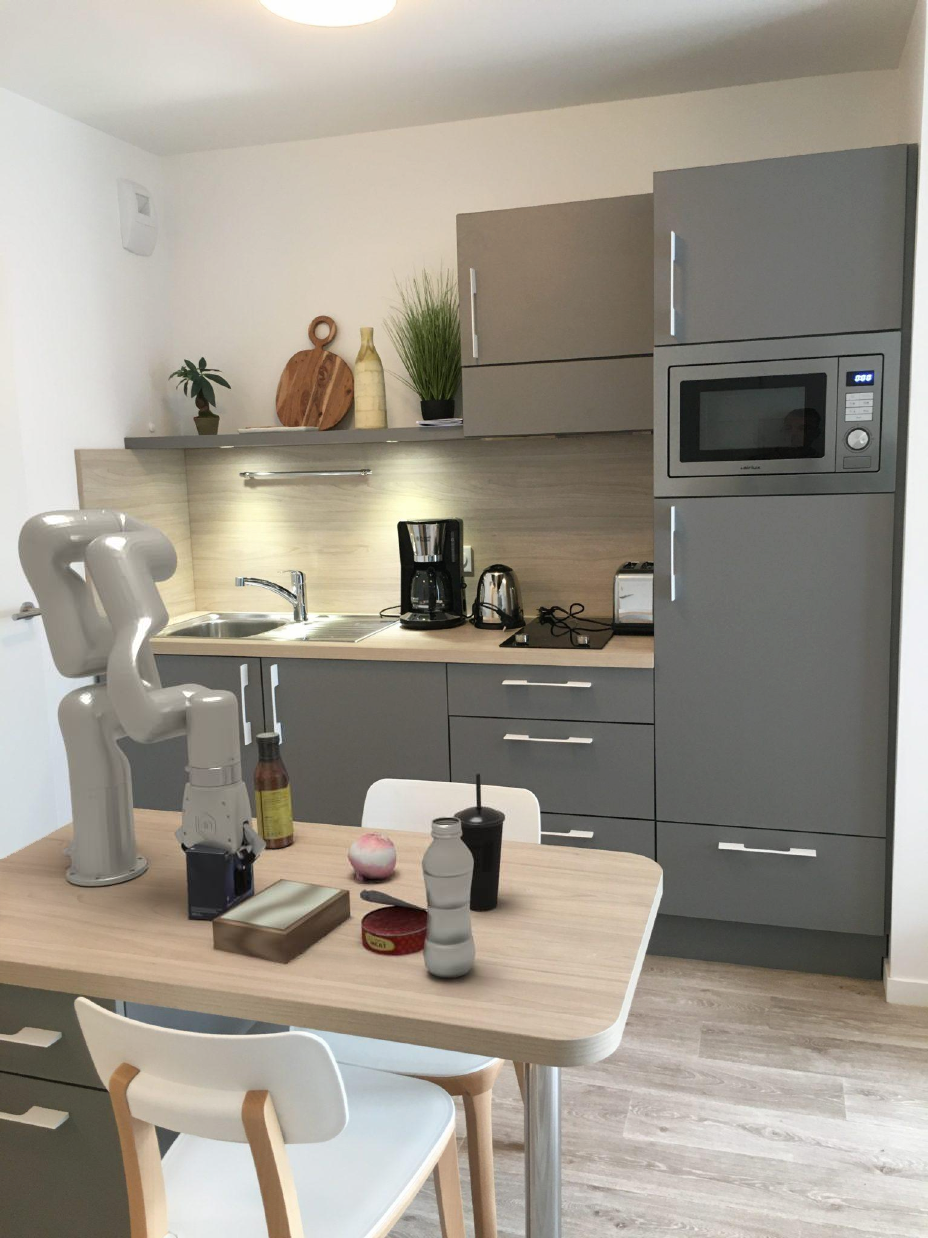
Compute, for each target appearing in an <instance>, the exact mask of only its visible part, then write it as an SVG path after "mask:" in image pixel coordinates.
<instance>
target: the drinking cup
mask: <svg viewBox="0 0 928 1238" xmlns="http://www.w3.org/2000/svg"><path fill="white" fill-rule="evenodd" d="M481 780H482V779H481V773H475V792H476V793H475V796H476V800H475V801H476V805H475V806H471V807H467V808H464V809H463V810H460V811H458V812H456V813H454V814H453V816H452V817H455V818H458V819H460V820H461V830H462V836H461V837H460V839H461V840H462V841H463V842H464V844H465V845H466V846H467V847H468V849H469V850H470V852H471V853H472V857H473V860H474V864H473V874H472V881H471V889H470V902H469V903H470V911H475V912H486V911H490V910H491V911H492V910H493V909H495V908H496V907H497V906H498V901H499V900H498V899H499V885H500V870H501V869H500V868H501V856H502V846H503V845H502V840H503V831H504V830H503V829H504V823H505V820H506V815H505V813H504V812H502V811H500V810H498V809H495V808H492V807H489V806H482V783H481Z"/></svg>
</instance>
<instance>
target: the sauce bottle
mask: <svg viewBox="0 0 928 1238" xmlns="http://www.w3.org/2000/svg"><path fill="white" fill-rule="evenodd" d="M255 737H256V738H255V739H256V744H257V749H258V763H257V766H256V767H255V770H254V772H253V782H254V783H253V785H254V789H253V790H254V801H255V814H256V826H257V834H258V835H259V836H260V837H261V838H262V839H263V840H264V841H265V842H266V847H265V848H266V849H280V848H284V847H286V846H289V845H291V844H293V841H294V832H295V830H294V821H293V804H292V795H291V783H290V782H291V781H290V776H289V773H288V771H287V769H286V766H285V764H284V761H283V759H282V757H281V749H280V741H281V738H280V734H279V733H278V732H274V731H273V732H272V731H271V732H263V733H262V732H261V733H258V734H257V735H256V736H255ZM265 848H264V849H265Z"/></svg>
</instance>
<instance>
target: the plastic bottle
mask: <svg viewBox="0 0 928 1238" xmlns="http://www.w3.org/2000/svg"><path fill="white" fill-rule="evenodd" d="M430 823H431V831H430V836H431V837H432V838H433V839H432V841H431V842H430V844H429V845H428V847H427V848H426V850H425V852H424V854H423V856H422V860H421V869H422V876H423V881H424V886H425V887H424V888H425V894H426V895H425V897H426V909H427V910H426V911H427V912H428V914H427V929H426V937H425V942H424V949H423V951H422V955H423V961H424V965H425V967H426V968H427V970H428V971H429V973H430V974H432V975H433V976H436V977H440V978H457V977H461V976H464V975H466V974H467V973H469V972H470V971H471V969H472V967H473V966H474V965H475V959H476V945H475V944H476V943H475V939H474V935H473V932H472V931H473V930H472V921H471V920H472V919H471V912H470V911H471V910H470V903H469V902H470V889H471V881H472V874H473V864H474V860H473V857H472V853H471V852H470V850H469V849H468V847H467V846H466V845H465V844H464V842H463V841H462V840H461V839H460V837H461V836H462V830H461V820H460V819H458V818H455V817H453V816H440V817H436V818H434V819H432V820H431V822H430Z"/></svg>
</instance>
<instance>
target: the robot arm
mask: <svg viewBox="0 0 928 1238" xmlns="http://www.w3.org/2000/svg"><path fill="white" fill-rule="evenodd" d="M173 544H174V543H172V541H171V540H170V539H169V538H168V536H166V535H165V533H164V532H162V531H160V530H159V529H157V528H156V527H154V526H152V525H150V524H148V523H146V522H144V521H143V520H141V519H138V518H136V517H135V516H132V515H131V514H129V513H126V512H124V511H121V510H118V509H107V508H105V509H103V508H101V509H100V508H99V509H98V508H97V509H61V510H60V509H59V510H50V511H45V512H40V513H38V514H36V515H33V516H31V517H30V518H29V519H27V521H25V522H24V524H23V525H22V527H21V528H20V533H19V537H18V543H17V548H18V549H17V551H18V552H17V553H18V558H19V562H20V566H21V568H22V572H23V573H24V576H25V578H26V580H27V582H28V584H29V586H30V588H31V590H32V592H33V594H34V596H35V599H36V602H37V603H38V604H37V605H38V608H39V611H40V615H41V616H40V618H41V619H42V623H43V628H44V633H45V636H46V640H47V642H48V643H47V644H48V646H49V650H50V654H51V657H52V661H53V664H54V666H55V668H56V670H57V672H58V673H59V674H60V676H62V677H65V678H67V679H73V680H74V679H75V680H76V679H84V678H85V679H86V678H90V677H91V678H92V677H96V676H101V675H106V681H104V682H98V683H93V684H87V685H84V686H80V687H78V688H75V689H73V690H72V691H69V692H68V693H67V694H66V695H65V696H64V697H63V698H62V699H61V701H60V702H59V703H58V708H57V721H58V726H59V729H60V730H59V731H60V732H61V736H62V740H63V744H64V747H65V753H66V759H67V768H68V779H69V782H68V783H69V786H70V787H69V789H70V791H69V792H70V802H71V815H72V828H73V840H70V841H69V842H67V844H66V847H65V848H63V849H62V850H61V856H62V857H64V858H71V861H70V862H71V865H70V866H69V867H68V868H67V869H66V872H65V874H66V880H67V881H68V882H69V883H71V884H73V885H76V886H83V887H101V886H109V885H115V884H118V883H119V884H121V883H123V882H126V881H129V880H132V879H135V878H137V877H139V876H140V875H142V874H143V873H144V872H145V871H146V869H147V868H148V861H147V859H146V857H144V855H143V856H142V855H141V854H137V845H136V844H137V843H136V830H135V829H136V827H135V813H134V800H133V783H132V782H133V781H132V770H131V764H130V762H129V759H128V757H127V755H125V752H124V751H123V750H122V749H121V748H120V746H119V745H118V743H117V740H120V739H122V738H125V737H129V738H130V739H132V740H133V741H135V742H136V743H138V744H145V745H148V744H154V743H158V742H161V741H165V740H169V739H173V738H177V737H181V736H185V735H186V739H187V757H188V763H187V764H186V765H185V766H184V770H185V772H186V773H188V775H189V776H188V777H189V781H188V782H186V783H185V787H184V792H183V797H182V806H181V807H182V808H181V809H182V810H181V811H182V813H181V825H180V826H179V828H177V829H176V830H175V831H174V832H173V835H174V837H175V839H176V840H177V841H178V843H179V844H180V847H181V850H182V851H183V852H184V853H185V854H186V850H187V849H189V848H190V847H191V846H193V845H194V844H199V845H205V846H211V847H216V848H221V849H225V850H228V854H229V855H232V854H233V858H234V863H235V865H236V867H237V869H236V870H234V881H235V894H236V896H241V895H243V894H244V893H246V892H248V891H249V890H251V887H252V886H251V885H252V878H251V865H252V864H253V865H254V864H255V861H257V860H258V858H259V857H260V856H261V854H262V853H263V851H264V850H265V847H266V842H265V841H264V840H263V839H262V838H261V837H260V836H259V835H258V832H256V831H255V829H254V828H253V818H252V810H251V805H250V798H249V794H248V790H247V787H246V782H245V781H243V780H242V779H243V778H242V761H241V759H242V757H241V738H240V722H239V720H240V719H239V704H238V698H237V696H236V695H235V694H234V693H233V692H232V691H229V690H224V689H212V688H208V687H206V686H204V685H201V684H197V683H184V684H181V685H180V684H179V685H175V686H169V687H164V688H163V686H162V682H161V678H160V674H159V671H158V668H157V664H156V659H155V655H154V652H153V648H152V644H151V642H150V640H151V639H152V638H153V637H155V636H157V635H158V634H160V633H161V632H162V631H163V630H164V629H165V628H166V626H167V625H168V624H169V621H170V615H169V612H168V610H167V608H166V606H165V603H164V601H163V599H162V596H161V594H160V592H159V589H158V587H157V584H156V583H160V582H161V583H163V582H165V581H168V580H169V579H171V578H172V577H173V576H174V575H175V573H176V570H177V567H178V555H177V551H176V549H175V546H174V545H173ZM84 562H85V565H86V568H87V571H88V573H89V576H90V578H91V580H92V582H93V585H94V588H95V590H96V593H97V595H98V597H99V599H100V602H101V605H102V607H103V610H104V612H105V614H106V616H102V615H100V613H99V611H98V608H97V606H96V601H95V597H94V593H93V590H92V589H91V587H90V586H89V584H88V583H87V582H86V581H85V579H84V578H83V576H81V575H80V573H78V572H77V571H76V570H75V569H73V568H72V567H71V564H72V563H73V564H74V563H84ZM250 845H252V849H251V851H250V850H249V848H248V846H250ZM239 851H241V853H242V855H243V857H244V858H243V859H242V857H241V855H240V853H239Z"/></svg>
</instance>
